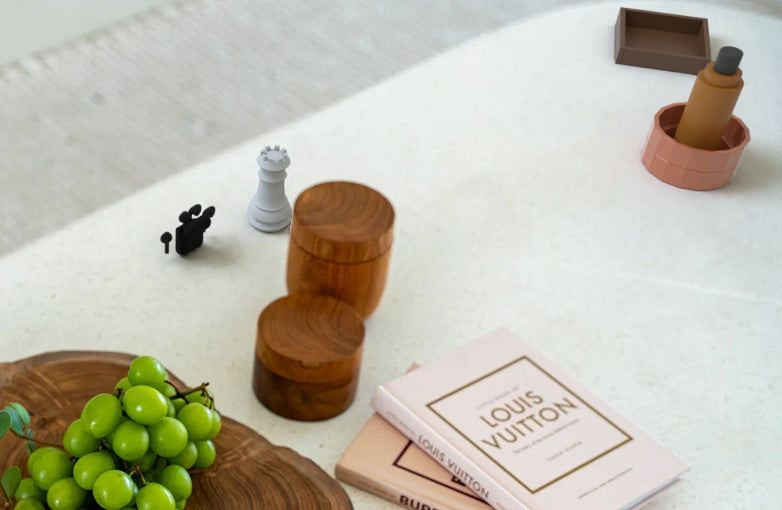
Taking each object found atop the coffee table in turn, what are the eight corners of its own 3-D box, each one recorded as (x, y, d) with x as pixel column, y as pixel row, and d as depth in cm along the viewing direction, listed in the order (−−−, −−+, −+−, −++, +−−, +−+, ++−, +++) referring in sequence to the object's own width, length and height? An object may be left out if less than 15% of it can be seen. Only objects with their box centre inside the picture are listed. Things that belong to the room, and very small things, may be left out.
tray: (700, 37, 140) (708, 18, 138) (704, 80, 133) (711, 60, 131) (614, 25, 142) (620, 6, 140) (613, 67, 135) (619, 47, 133)
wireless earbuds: (209, 231, 113) (210, 189, 109) (227, 243, 112) (229, 201, 108) (157, 262, 110) (156, 219, 106) (174, 274, 109) (175, 232, 105)
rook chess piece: (240, 211, 115) (244, 143, 110) (281, 203, 116) (287, 135, 110) (255, 237, 112) (260, 169, 107) (297, 229, 113) (305, 161, 108)
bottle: (708, 155, 122) (754, 43, 112) (710, 179, 119) (757, 66, 109) (665, 149, 123) (707, 37, 113) (666, 172, 120) (709, 59, 110)
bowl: (730, 150, 123) (747, 109, 120) (735, 201, 117) (753, 159, 114) (639, 136, 125) (653, 96, 121) (639, 185, 119) (654, 144, 115)
